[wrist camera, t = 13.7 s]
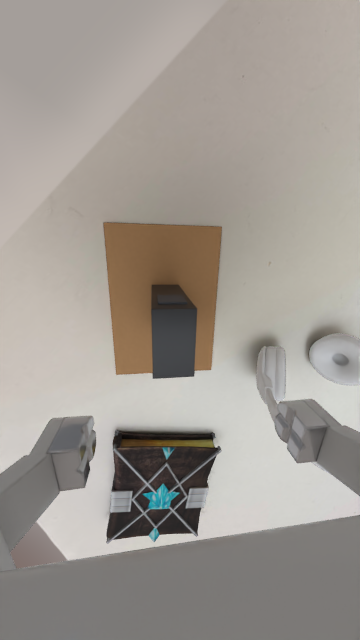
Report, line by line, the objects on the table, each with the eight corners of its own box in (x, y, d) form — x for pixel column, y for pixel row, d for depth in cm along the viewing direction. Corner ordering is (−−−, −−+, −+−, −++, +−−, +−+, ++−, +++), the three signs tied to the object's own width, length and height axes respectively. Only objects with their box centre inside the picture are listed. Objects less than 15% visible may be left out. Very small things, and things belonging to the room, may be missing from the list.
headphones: (234, 343, 32) (354, 478, 13) (347, 322, 33) (603, 417, 14) (236, 383, 34) (340, 547, 15) (341, 362, 35) (556, 489, 17)
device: (151, 283, 27) (151, 307, 16) (178, 283, 27) (197, 306, 16) (152, 328, 29) (152, 378, 18) (177, 327, 29) (194, 376, 18)
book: (115, 428, 34) (109, 457, 29) (215, 430, 37) (225, 456, 32) (108, 519, 40) (103, 555, 36) (195, 515, 43) (200, 547, 38)
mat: (104, 222, 25) (103, 222, 24) (220, 227, 26) (221, 226, 26) (116, 372, 31) (116, 374, 30) (210, 368, 33) (211, 369, 32)
